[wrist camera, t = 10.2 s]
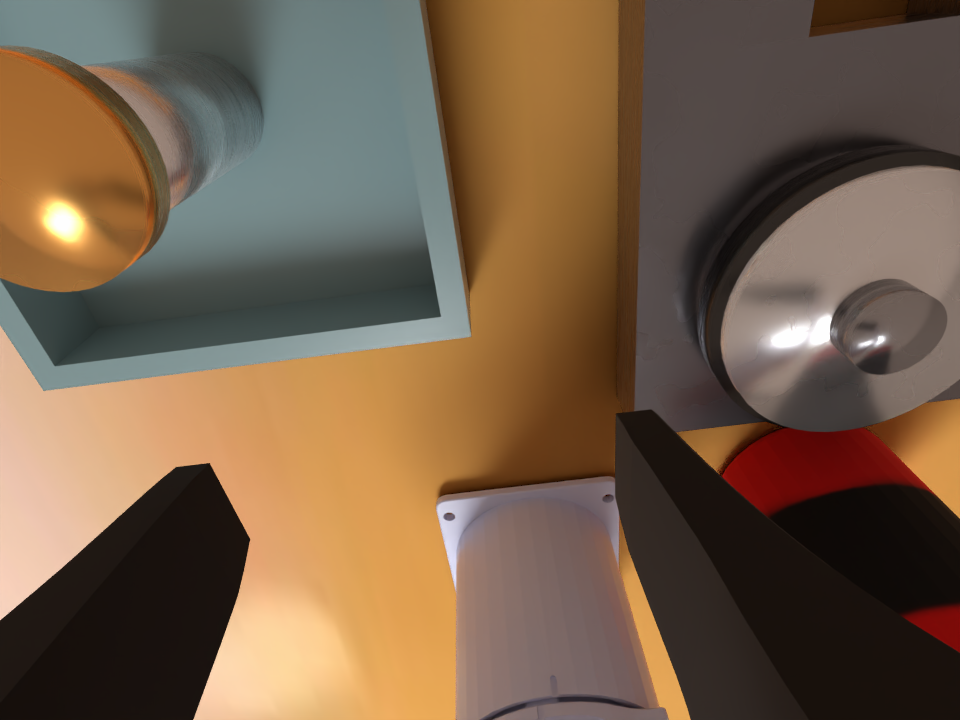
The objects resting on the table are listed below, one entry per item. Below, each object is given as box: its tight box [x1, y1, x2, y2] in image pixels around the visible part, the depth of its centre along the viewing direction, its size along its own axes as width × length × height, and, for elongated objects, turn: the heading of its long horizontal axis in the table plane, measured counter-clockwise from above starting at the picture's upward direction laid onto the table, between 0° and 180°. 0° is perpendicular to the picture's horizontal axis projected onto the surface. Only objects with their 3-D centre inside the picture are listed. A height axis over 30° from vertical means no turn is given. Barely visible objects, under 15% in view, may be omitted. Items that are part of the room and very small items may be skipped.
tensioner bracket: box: [617, 0, 960, 432], centre depth 15 cm, size 18×12×6 cm, turn 7°
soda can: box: [722, 427, 960, 652], centre depth 20 cm, size 8×8×12 cm
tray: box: [0, 0, 471, 391], centre depth 15 cm, size 14×14×3 cm
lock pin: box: [0, 45, 264, 292], centre depth 12 cm, size 4×4×8 cm
